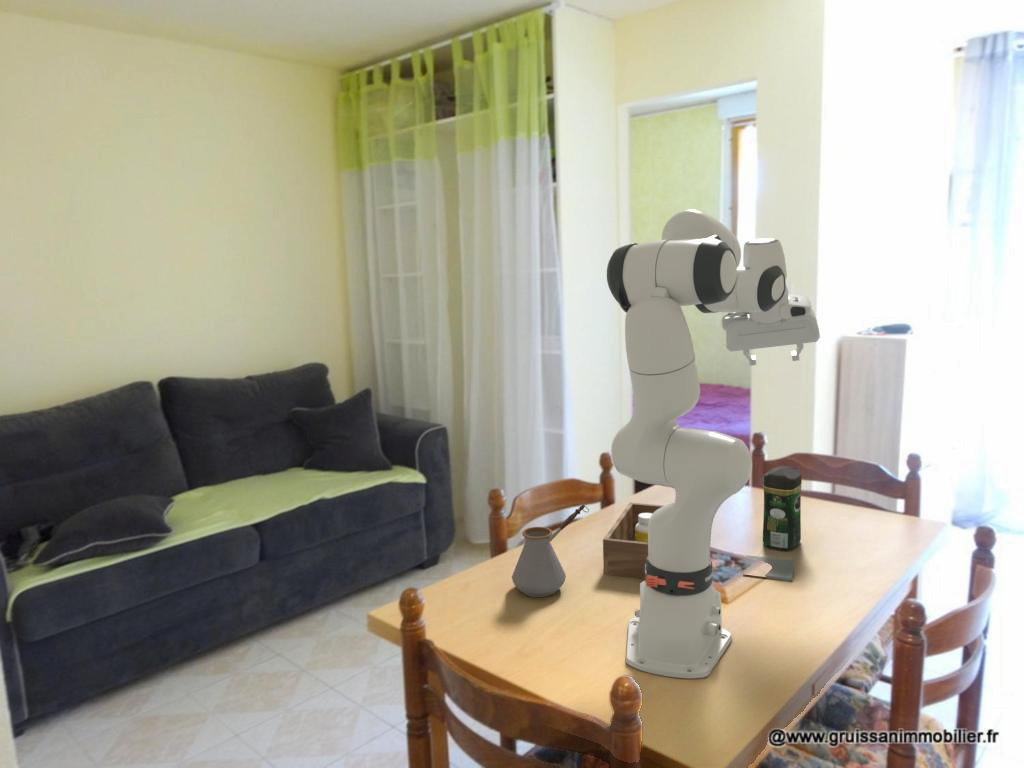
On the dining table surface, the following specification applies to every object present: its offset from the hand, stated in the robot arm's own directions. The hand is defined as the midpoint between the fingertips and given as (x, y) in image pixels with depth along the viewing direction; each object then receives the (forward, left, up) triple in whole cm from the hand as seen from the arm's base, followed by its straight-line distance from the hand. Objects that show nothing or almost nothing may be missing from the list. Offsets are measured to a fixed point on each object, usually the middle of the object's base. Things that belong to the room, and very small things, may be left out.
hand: (774, 362), depth 170 cm
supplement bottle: (-17, +27, -44) cm, 54 cm away
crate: (-17, +27, -44) cm, 54 cm away
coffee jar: (-1, -2, -44) cm, 44 cm away
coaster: (-17, 0, -44) cm, 47 cm away
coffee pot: (-37, +43, -44) cm, 72 cm away
